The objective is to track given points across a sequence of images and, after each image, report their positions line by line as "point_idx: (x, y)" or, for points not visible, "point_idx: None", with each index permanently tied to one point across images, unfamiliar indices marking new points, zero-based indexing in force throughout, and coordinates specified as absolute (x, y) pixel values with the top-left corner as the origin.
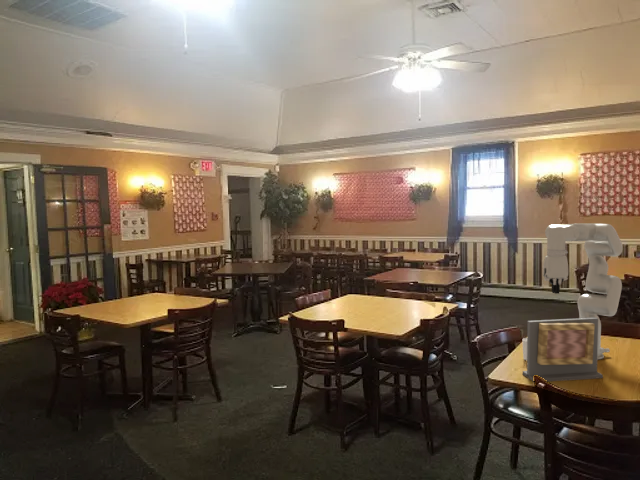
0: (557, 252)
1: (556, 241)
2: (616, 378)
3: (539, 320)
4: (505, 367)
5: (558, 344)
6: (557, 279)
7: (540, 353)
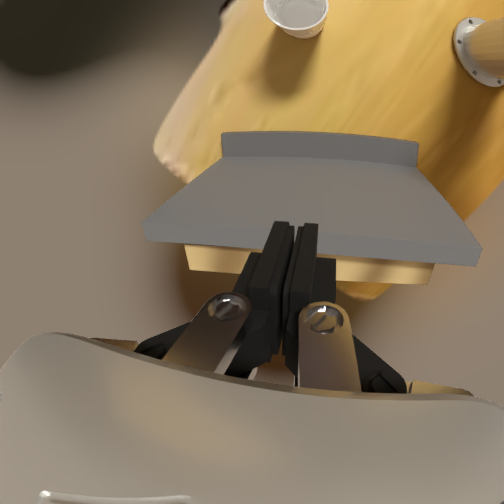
0: None
1: None
2: None
3: (191, 228)
4: (200, 79)
5: None
6: (323, 384)
7: None
